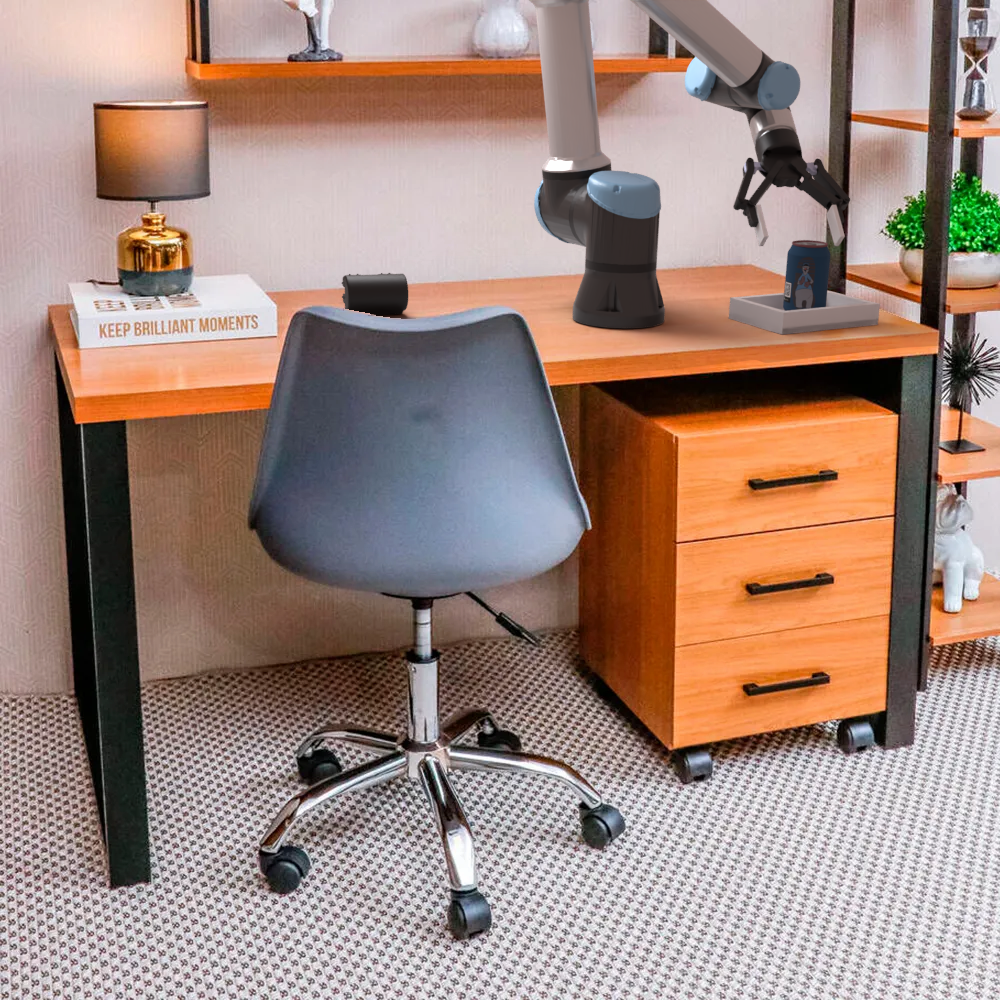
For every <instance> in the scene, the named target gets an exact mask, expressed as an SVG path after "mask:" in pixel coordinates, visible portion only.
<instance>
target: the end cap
mask: <svg viewBox="0 0 1000 1000" xmlns="http://www.w3.org/2000/svg"><path fill="white" fill-rule="evenodd" d="M341 284H342V286H343V288H344V293H342V296H341V298H342V302H343V304H344V308H345V309H349V310H354V311H359V312H365V313H370V314H376V315H375V316H384V315H385V316H386V315H403V313H404V312H405V311H406V309H407V308H408V304H409V285H408V281H407V276H406V275H405V274H404V273H391V272H388V273H383V272H381V273H378V274H359V273H356V274H350V273H349V274H346V275H343V277H342V282H341Z"/></svg>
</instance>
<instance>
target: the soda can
mask: <svg viewBox="0 0 1000 1000" xmlns="http://www.w3.org/2000/svg"><path fill="white" fill-rule="evenodd" d="M828 246H829V243H828V242H825V241H820V240H810V239H803V240H801V239H799V240H793V241H792V242H791V246H790V248H789V249H788V251H787V255H786V256H787V257H786V268H785V280H784V288H783V289H784V290H783V291H784V292H783V293H784V301H783V308H784V310H785V311H789V310H799V309H810V308H821V307H826V300H827V290H828V287H829V274H830V264H831V252H830V250H829V247H828Z"/></svg>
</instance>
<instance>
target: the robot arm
mask: <svg viewBox="0 0 1000 1000" xmlns="http://www.w3.org/2000/svg"><path fill="white" fill-rule="evenodd" d="M528 1H529V2H530V3H532V4H533V5H534V7H535V14H536V15H535V17H536V25H537V26H536V27H537V33H538V34H537V37H538V47H539V56H540V57H539V58H540V59H539V60H540V67H541V78H542V89H543V99H544V109H545V110H544V111H545V118H546V119H545V120H546V129H547V139H548V151H549V156H548V158H547V160H546V161H545V162H544V163H543V164H542V167H541V173H542V180H541V181H540V183H539V186H538V187H537V189H536V191H535V194H534V201H533V204H534V205H533V207H534V212H535V216H536V218H537V219H536V220H537V221H538V223H539V224H540V226H541V227H542V228H543V230H544V231H546V233H547V234H548V235H550V236H552V237H554V238H556V239H558V240H559V241H561V242H563V243H566V244H572V245H577V246H580V247H584V248H585V259H584V260H585V261H584V273H583V276H582V280H581V281H580V285H579V288H578V290H577V293H576V296H575V298H574V299H575V300H574V302H573V306H572V320H574V321H575V322H577V323H580V324H582V325H586V326H592V327H597V328H598V327H599V328H607V329H608V328H609V329H610V328H611V329H642V328H643V329H644V328H650V327H657V326H660V325H663V323H664V322H665V317H666V311H665V310H666V307H665V304H664V299H663V296H662V292H661V288H660V285H659V281H658V275H657V267H658V266H657V264H658V263H657V262H658V249H659V247H658V246H659V230H660V214H661V213H660V212H661V210H662V209H661V208H662V204H661V203H662V202H661V189H660V185H659V183H658V181H656V180H655V179H654V178H651V177H649V176H648V175H645V174H642V173H641V174H640V173H637V172H634V173H632V172H628V171H623V170H612V161H611V159H610V158H609V157H608V156H607V155H606V154H605V153H603V152H602V149H601V139H600V124H599V113H598V103H597V102H598V101H597V90H596V79H595V78H596V77H595V65H594V64H595V63H594V53H593V38H592V28H591V18H590V17H591V16H590V3H589V1H590V0H528ZM630 2H632V3H633V4H634V5H635V6H637V8H638V9H639V10H641V11H642V12H644V14H645V15H647V16H648V17H649V18H650V19H652V21H654V22H655V23H656V24H657V25H659V27H661V28H662V30H664V31H665V32H667V33H668V34H669V35H670V36H671V37H672V38H673V39H675V41H677V42H678V43H679V44H680V45H682V47H684V48H685V49H686V50H687V51H689V52H690V53H691V54H692V55H693V56H694V58H693V59H692V60H691V61H690V63H689V65H688V66H687V68H686V73H685V76H684V87H685V90H686V92H687V93H688V95H690V96H691V97H693V98H696V99H698V100H700V101H701V102H707V103H710V104H715V105H717V106H720V107H724V108H727V109H730V110H733V111H736V112H739V113H741V114H744V115H746V118H747V122H748V128H749V130H750V134H751V137H752V142H753V145H754V150H755V153H756V159H757V161H755V160H754V159H753V158H752V157H747V159H746V161H745V163H744V165H743V167H742V176H743V177H742V180H741V183H740V186H739V188H738V192H737V195H736V197H735V200H734V203H733V209H734V210H735V211H740V210H742V214H743V216H744V217H746V218H747V222H748V226H749V227H750V228H754V232H755V235H756V239H757V244H758V247H764V245H765V243H766V242H767V240H768V238H769V233H768V228H767V225H766V220H765V217H764V213H763V209H762V205H761V204H759V202H760V201H761V199H762V198H763V196H764V195H765V194H766V192H767V191H768V190H769V189H770V187H771V186H772V185H773V186H775V187H776V188H784V187H787V188H794V187H795V188H797V190H799V191H800V192H801V191H803V192H805V193H806V194H807V195H808V196H809V197H811V198H812V199H813V200H815V201H816V202H817V203H818V204H819V205H821V207H823V208H824V209H825V210H827V212H826V214H825V215H826V220H827V223H828V226H829V230H830V235H831V237H832V243H833V245H834V247H840V245H841V243H842V242H843V240H844V238H845V237H846V236H845V233H844V228H843V225H844V223H845V217H844V213H843V211H845V209H846V208H847V207H848V205H849V203H850V201H851V197H849V195H848V194H847V193H846V192H845V191H844V189H843V188H842V187H841V186H840V185H839V183H837V181H836V180H835V179H834V178H833V177H832V175H831V174H830V173H829V172H828V171H827V169H825V168H826V167H825V165H824V163H823V161H822V159H820V158H816V159H814V161H812V162H806V161H805V160H804V158H803V151H802V147H801V146H802V145H801V143H800V139H799V136H798V132H797V128H796V127H797V126H796V124H795V121H794V118H793V117H794V116H793V114H792V110H791V108H790V106H791V105H793V104H794V103H795V101H796V100H797V98H798V96H799V94H800V89H801V78H800V74H799V72H798V70H797V69H796V68H795V67H794V66H793V65H792V64H790V63H786V62H785V61H781V60H780V61H779V60H776V61H775V60H774V59H772V58H771V57H770V56H769V55H767V54H766V53H765V52H764V51H763V50H762V49H760V47H758V45H756V43H754V42H753V41H752V40H751V39H750V38H749V37H747V35H746V34H744V33H743V32H742V31H741V30H740V29H739V28H738V27H736V26H735V25H734V24H733V23H732V21H730V20H729V19H728V17H726V16H724V14H723V13H721V12H720V10H718V9H717V8H716V6H715V7H714V5H712V4H711V3H710V2H709V0H630ZM757 171H758V173H759V174H761V176H763V177H764V179H763V180H762V182H761V183H760V184H759V185H758V187H757V189H756V190H755V191H754V193H753V194H752V195H751V197H749V199H746V196H747V194H748V191H749V187H750V185H751V182H752V179H753V176H754V175H756V173H757ZM802 178H803V180H802V181H801V179H802Z"/></svg>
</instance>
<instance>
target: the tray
mask: <svg viewBox="0 0 1000 1000" xmlns="http://www.w3.org/2000/svg"><path fill="white" fill-rule="evenodd" d="M783 301H784V292H779V293H778V292H777V293H768V294H767V293H766V294H756V295H745V296H734V297H733V296H731V297H730V298H729V308H728V320H729V319H730V320H733V321H736V322H740V323H743V324H746V325H750V326H752V327H756V328H759V329H761V330H766V331H769V332H772V333H776V334H779V335H790V334H799V333H800V334H801V333H802V334H803V333H811V332H821V331H828V330H829V331H830V330H839V329H848V328H858V327H868V326H878V325H879V317H880V310H881V309H880V308H881V307H880V306H881V303H879V302H874V301H870V300H867V299H863V298H859V297H855V296H852V295H847V294H843V293H839V292H835V291H831V290H828V289H827V300H826V307H821V308H810V309H799V310H789V311H785V310H784V308H783Z"/></svg>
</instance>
